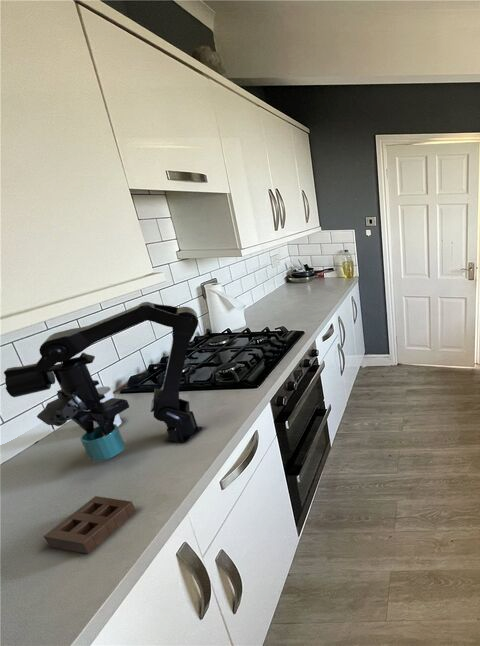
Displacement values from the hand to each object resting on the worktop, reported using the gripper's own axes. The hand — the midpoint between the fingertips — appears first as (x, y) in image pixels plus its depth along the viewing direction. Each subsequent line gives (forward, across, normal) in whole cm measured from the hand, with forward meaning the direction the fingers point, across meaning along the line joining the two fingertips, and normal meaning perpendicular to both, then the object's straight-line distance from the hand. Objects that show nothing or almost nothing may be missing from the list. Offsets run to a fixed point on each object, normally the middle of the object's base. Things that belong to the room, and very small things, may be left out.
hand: (99, 433), depth 91 cm
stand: (+9, +18, -18) cm, 27 cm away
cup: (+9, -16, +12) cm, 22 cm away
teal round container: (+6, 0, 0) cm, 6 cm away
